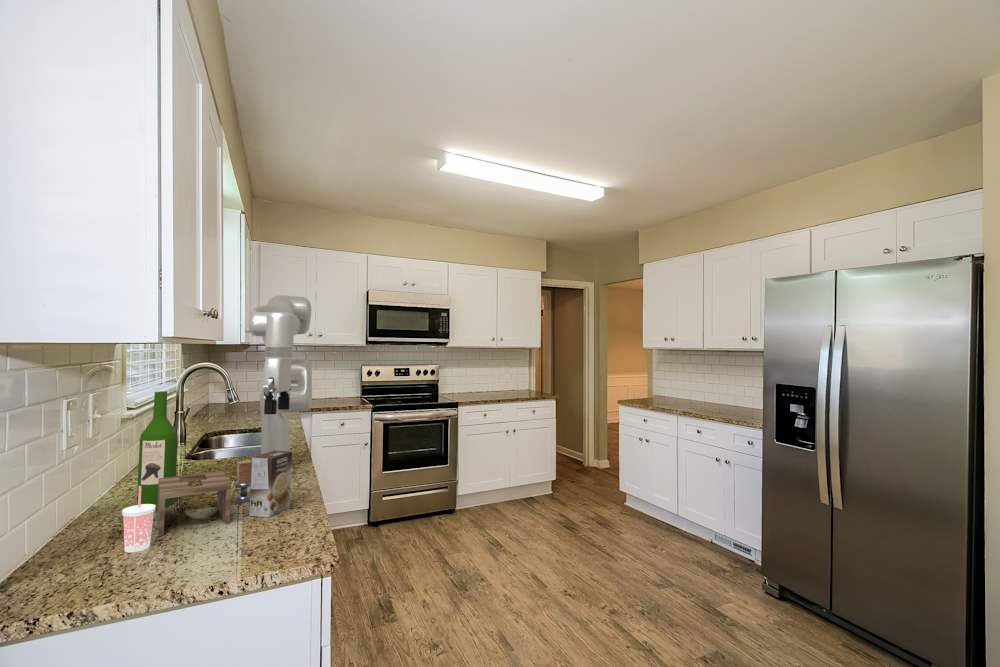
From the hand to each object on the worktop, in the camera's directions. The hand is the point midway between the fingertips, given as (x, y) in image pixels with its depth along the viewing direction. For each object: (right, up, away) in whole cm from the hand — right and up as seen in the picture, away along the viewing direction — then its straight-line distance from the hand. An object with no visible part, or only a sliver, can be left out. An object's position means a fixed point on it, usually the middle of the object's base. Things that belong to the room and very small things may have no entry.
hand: (277, 411), depth 139 cm
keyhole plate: (-16, -26, -14) cm, 34 cm away
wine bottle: (-33, -27, -3) cm, 43 cm away
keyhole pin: (-11, -27, +2) cm, 29 cm away
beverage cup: (-16, -26, -32) cm, 45 cm away
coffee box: (+1, -27, -7) cm, 28 cm away
